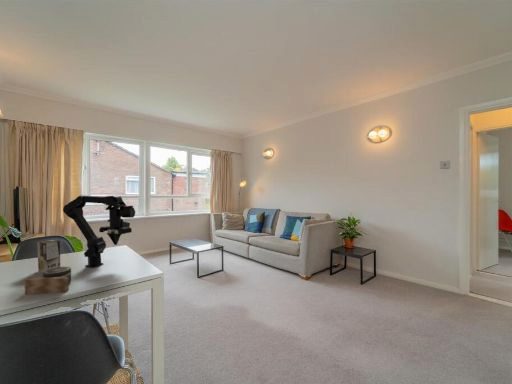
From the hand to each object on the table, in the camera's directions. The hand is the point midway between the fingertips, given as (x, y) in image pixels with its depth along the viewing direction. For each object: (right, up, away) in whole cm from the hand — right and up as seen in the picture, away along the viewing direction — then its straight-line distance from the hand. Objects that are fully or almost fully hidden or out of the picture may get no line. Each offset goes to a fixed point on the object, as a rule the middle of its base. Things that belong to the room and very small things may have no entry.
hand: (115, 244), depth 136 cm
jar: (-10, -13, -28) cm, 32 cm away
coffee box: (-31, -13, -7) cm, 35 cm away
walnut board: (-10, -13, -34) cm, 37 cm away
